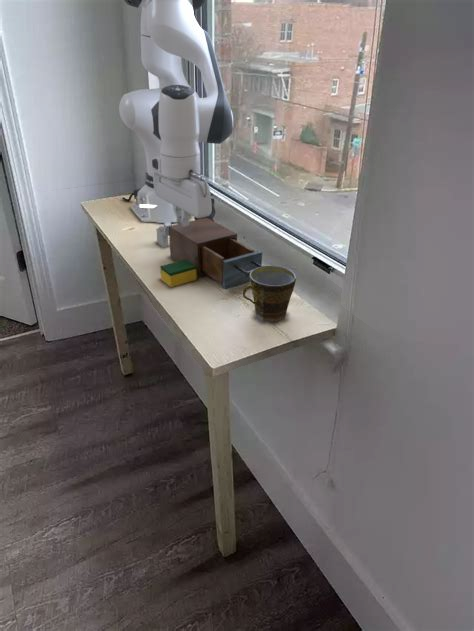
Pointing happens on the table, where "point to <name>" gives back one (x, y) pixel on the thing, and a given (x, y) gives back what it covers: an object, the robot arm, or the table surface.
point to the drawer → (229, 262)
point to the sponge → (178, 273)
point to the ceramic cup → (271, 292)
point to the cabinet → (195, 240)
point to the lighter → (163, 234)
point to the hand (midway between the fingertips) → (182, 224)
